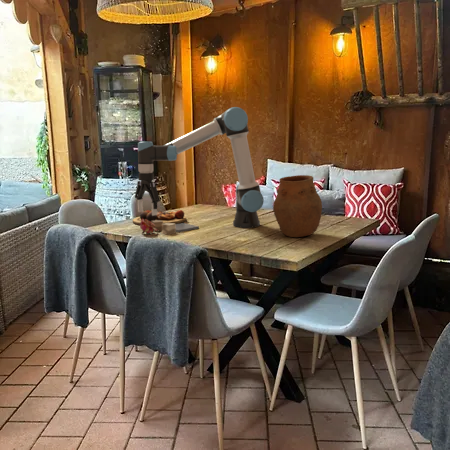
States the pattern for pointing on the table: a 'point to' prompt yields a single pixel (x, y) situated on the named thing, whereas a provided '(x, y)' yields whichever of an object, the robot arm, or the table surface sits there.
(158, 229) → the walnut block
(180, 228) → the slate mat
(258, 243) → the table surface
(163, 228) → the beech block
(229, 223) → the table surface
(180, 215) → the wooden plate with food
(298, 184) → the pot
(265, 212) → the table surface
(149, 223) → the flower
